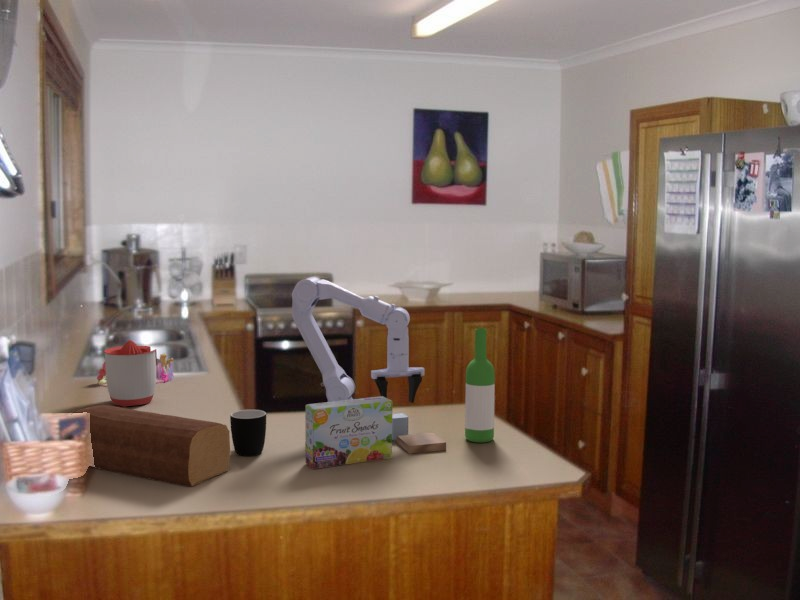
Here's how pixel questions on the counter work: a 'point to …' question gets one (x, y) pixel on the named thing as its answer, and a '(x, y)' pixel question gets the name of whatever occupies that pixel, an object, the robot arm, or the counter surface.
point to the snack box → (348, 431)
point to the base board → (421, 442)
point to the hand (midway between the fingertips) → (397, 403)
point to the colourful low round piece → (162, 371)
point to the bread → (158, 445)
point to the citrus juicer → (131, 374)
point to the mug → (248, 431)
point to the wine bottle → (479, 393)
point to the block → (399, 425)
